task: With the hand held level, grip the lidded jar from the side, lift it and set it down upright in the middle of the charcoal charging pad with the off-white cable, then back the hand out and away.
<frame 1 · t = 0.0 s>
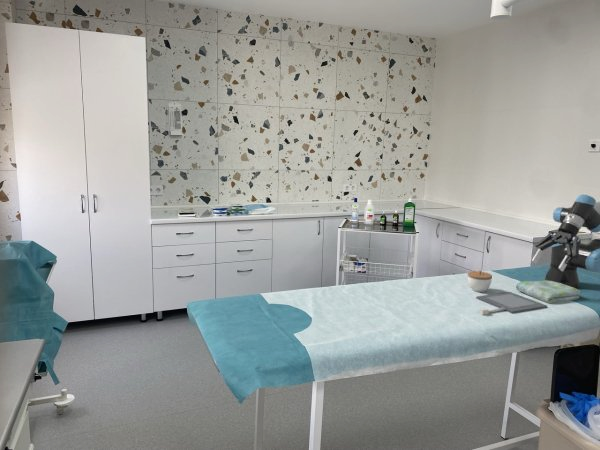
hand: (546, 265, 206), 15 cm above the table, tool tilted 35°, fingers open, 13 cm apart
lidded jar: (478, 290, 221), on the table
charging pad: (510, 302, 203), on the table
towel: (547, 296, 215), on the table
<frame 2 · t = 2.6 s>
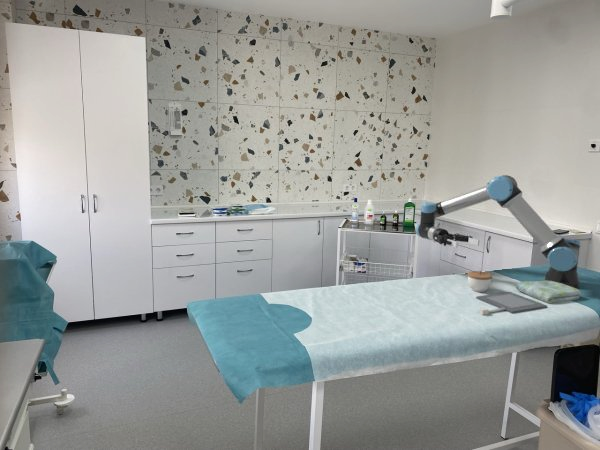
hand: (468, 243, 225), 20 cm above the table, tool horizontal, fingers open, 13 cm apart
nothing on the table moved.
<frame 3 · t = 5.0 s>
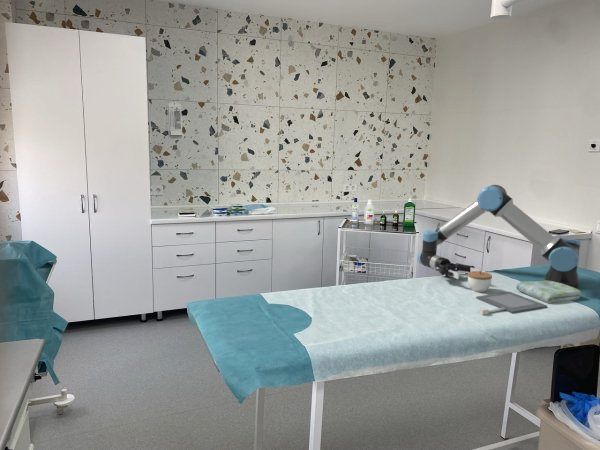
hand: (469, 274, 225), 6 cm above the table, tool horizontal, fingers open, 13 cm apart
nothing on the table moved.
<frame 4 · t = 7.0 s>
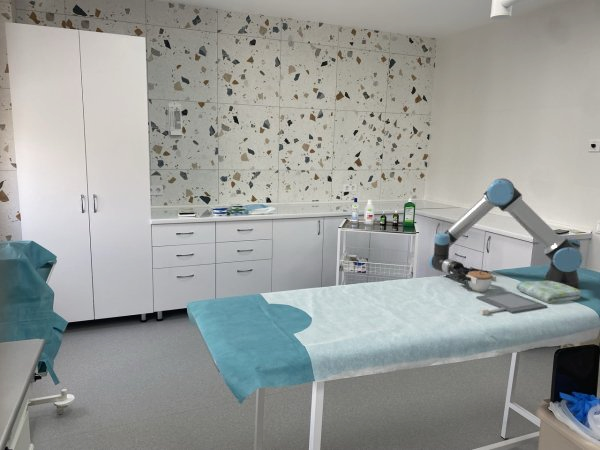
hand: (486, 280, 216), 6 cm above the table, tool horizontal, fingers closed on lidded jar, 11 cm apart
lidded jar: (478, 290, 220), on the table, touching gripper
everything else where it was.
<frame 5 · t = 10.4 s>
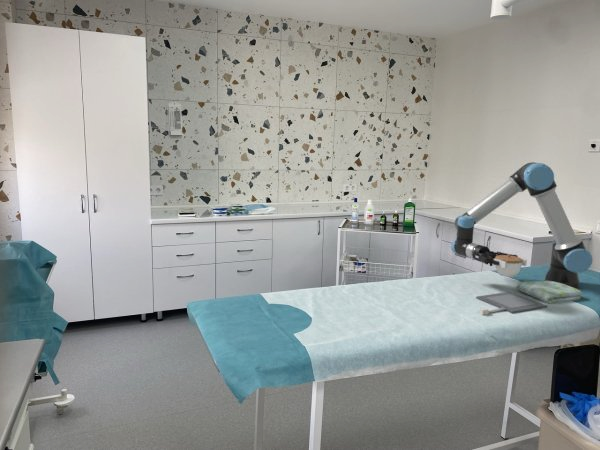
hand: (515, 264, 199), 18 cm above the table, tool horizontal, fingers closed on lidded jar, 11 cm apart
lidded jar: (507, 275, 203), point 12 cm above the table, touching gripper
everything else where it was.
when the fingers open (8 cm above the table, at t = 13.7 s): lidded jar drops 1 cm, resting on charging pad.
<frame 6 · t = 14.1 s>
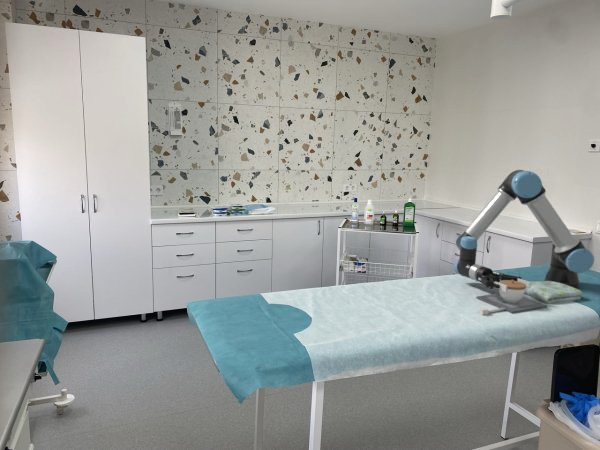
hand: (518, 287, 199), 8 cm above the table, tool horizontal, fingers open, 13 cm apart
lidded jar: (510, 301, 203), point 1 cm above the table, touching charging pad
everything else where it was.
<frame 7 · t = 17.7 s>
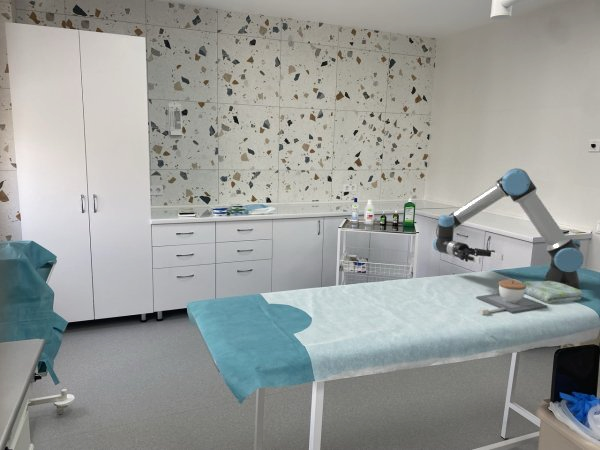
hand: (491, 258, 212), 16 cm above the table, tool horizontal, fingers open, 13 cm apart
nothing on the table moved.
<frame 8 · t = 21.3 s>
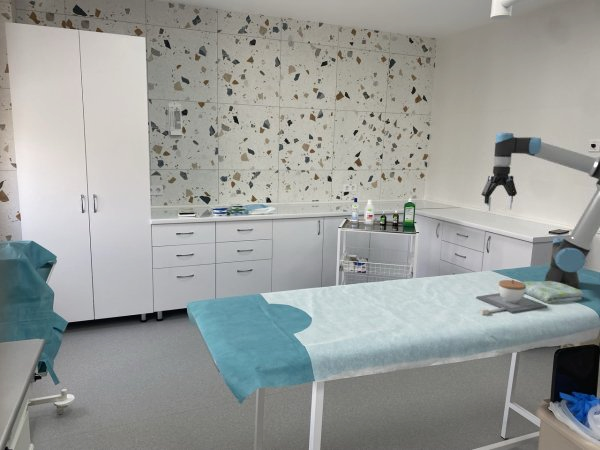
hand: (497, 209, 226), 37 cm above the table, tool pointing down, fingers open, 13 cm apart
nothing on the table moved.
at the end: lidded jar inside the target area on the charging pad (0.1 cm from its centre), point 0.7 cm above the charging pad's base; lidded jar tilted 0°; the gripper is holding nothing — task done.
